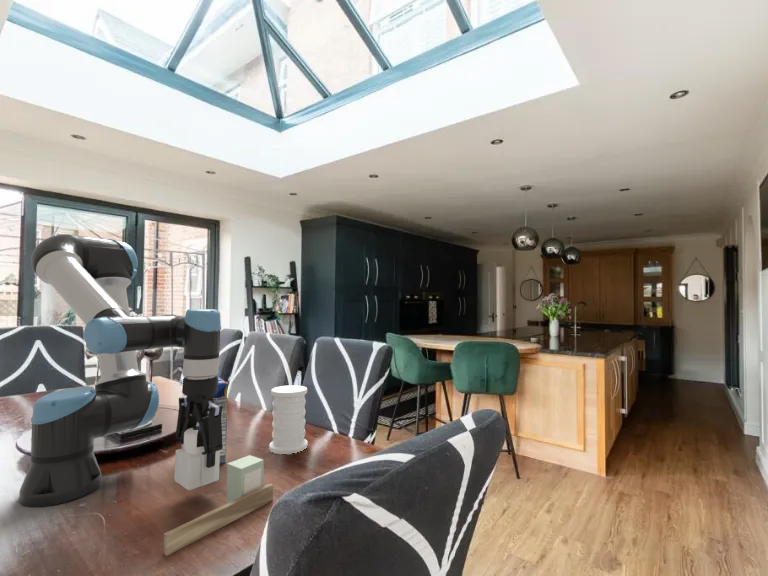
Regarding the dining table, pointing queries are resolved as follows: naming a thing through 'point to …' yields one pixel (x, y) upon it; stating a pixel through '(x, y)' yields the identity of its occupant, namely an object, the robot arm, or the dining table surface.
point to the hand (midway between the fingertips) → (196, 475)
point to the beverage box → (221, 399)
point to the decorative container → (288, 419)
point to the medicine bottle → (192, 460)
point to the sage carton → (244, 476)
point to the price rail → (215, 519)
